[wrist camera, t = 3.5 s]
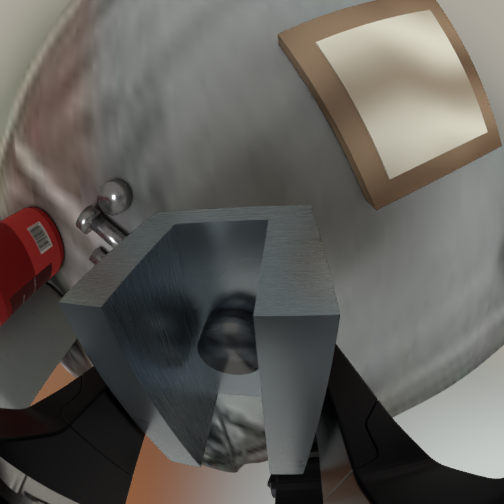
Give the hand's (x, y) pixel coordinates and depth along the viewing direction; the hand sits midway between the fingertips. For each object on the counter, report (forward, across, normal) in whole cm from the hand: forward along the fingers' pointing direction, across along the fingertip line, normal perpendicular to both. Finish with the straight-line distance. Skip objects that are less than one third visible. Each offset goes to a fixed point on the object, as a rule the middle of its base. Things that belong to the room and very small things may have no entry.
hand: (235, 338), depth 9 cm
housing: (+2, 0, 0) cm, 2 cm away
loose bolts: (+11, +12, 0) cm, 16 cm away
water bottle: (+12, +27, +10) cm, 31 cm away
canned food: (+12, +23, +1) cm, 26 cm away
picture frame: (+11, -10, -9) cm, 18 cm away
